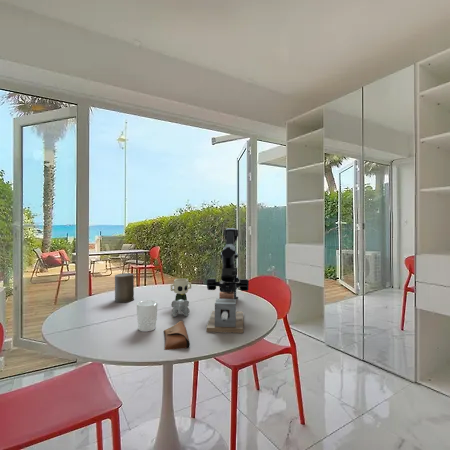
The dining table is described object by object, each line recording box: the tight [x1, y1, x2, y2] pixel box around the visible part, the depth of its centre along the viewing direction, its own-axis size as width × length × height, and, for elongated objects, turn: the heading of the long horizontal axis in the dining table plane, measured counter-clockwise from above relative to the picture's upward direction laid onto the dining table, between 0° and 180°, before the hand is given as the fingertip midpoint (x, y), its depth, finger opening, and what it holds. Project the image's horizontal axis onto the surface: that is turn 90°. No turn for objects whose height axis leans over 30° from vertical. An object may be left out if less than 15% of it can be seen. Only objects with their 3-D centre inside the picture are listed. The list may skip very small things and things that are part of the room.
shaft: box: [218, 291, 234, 321], centre depth 112 cm, size 17×6×10 cm, turn 176°
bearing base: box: [205, 298, 244, 334], centre depth 117 cm, size 21×14×10 cm, turn 176°
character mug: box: [170, 278, 192, 301], centre depth 140 cm, size 11×7×13 cm, turn 119°
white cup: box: [136, 299, 158, 333], centre depth 110 cm, size 8×8×10 cm
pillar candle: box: [114, 272, 135, 303], centre depth 150 cm, size 10×10×15 cm
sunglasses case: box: [163, 320, 191, 351], centre depth 100 cm, size 18×7×7 cm
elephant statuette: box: [170, 299, 190, 318], centre depth 124 cm, size 9×12×8 cm
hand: (226, 301), depth 120 cm, fingers closed, pressing on shaft
